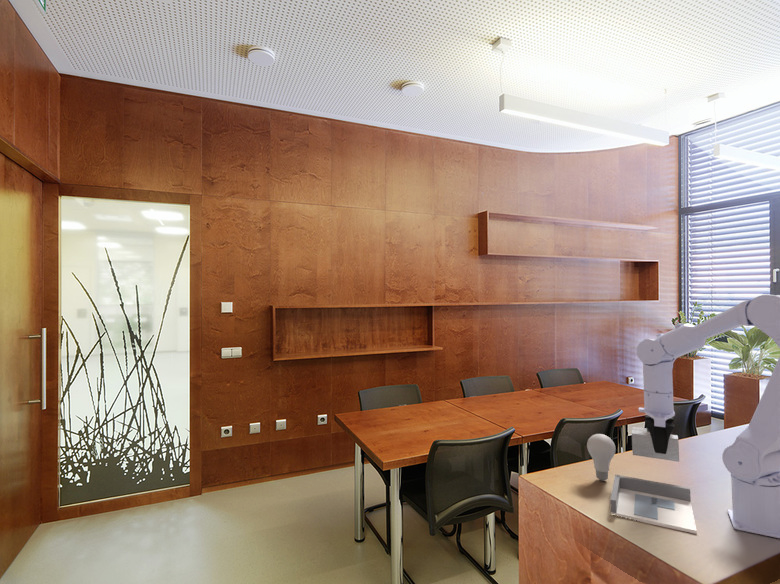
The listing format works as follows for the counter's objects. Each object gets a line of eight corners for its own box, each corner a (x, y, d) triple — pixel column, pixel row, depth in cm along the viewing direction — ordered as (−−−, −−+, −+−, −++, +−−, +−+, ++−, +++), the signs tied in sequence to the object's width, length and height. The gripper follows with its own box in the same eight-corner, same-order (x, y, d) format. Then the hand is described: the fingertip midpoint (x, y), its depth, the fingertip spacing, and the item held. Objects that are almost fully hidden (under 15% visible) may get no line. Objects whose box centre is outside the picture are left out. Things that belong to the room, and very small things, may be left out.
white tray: (690, 502, 89) (689, 487, 89) (696, 534, 77) (696, 517, 77) (615, 488, 96) (615, 474, 96) (610, 515, 84) (610, 499, 84)
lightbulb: (582, 477, 102) (580, 432, 102) (601, 473, 104) (599, 429, 104) (603, 488, 96) (601, 439, 97) (622, 483, 98) (621, 436, 99)
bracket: (677, 453, 98) (676, 431, 98) (679, 461, 93) (678, 439, 93) (633, 447, 103) (632, 426, 103) (632, 454, 98) (631, 433, 98)
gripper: (638, 384, 105) (640, 438, 104) (637, 395, 93) (639, 457, 92) (672, 386, 101) (674, 443, 101) (675, 398, 89) (678, 463, 88)
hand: (660, 450), depth 96 cm, fingers closed on bracket, 3 cm apart
